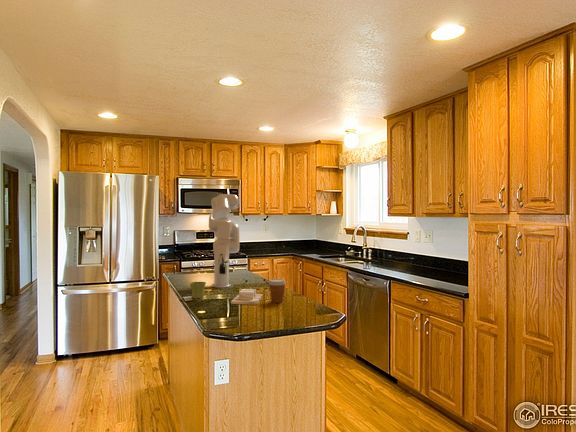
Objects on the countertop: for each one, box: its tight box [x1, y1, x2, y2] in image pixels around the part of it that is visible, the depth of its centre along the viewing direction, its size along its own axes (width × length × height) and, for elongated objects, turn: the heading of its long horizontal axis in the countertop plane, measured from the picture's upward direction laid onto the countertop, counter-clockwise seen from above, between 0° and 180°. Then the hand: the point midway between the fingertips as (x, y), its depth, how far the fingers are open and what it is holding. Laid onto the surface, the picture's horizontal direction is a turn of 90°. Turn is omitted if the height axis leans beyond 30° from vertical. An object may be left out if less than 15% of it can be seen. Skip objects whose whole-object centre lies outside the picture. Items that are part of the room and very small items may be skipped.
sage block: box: [218, 262, 230, 275], centre depth 236 cm, size 5×5×6 cm
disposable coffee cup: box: [268, 278, 287, 304], centre depth 227 cm, size 10×10×12 cm
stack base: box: [230, 288, 264, 306], centre depth 230 cm, size 20×14×6 cm
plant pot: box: [189, 281, 207, 299], centre depth 236 cm, size 9×9×9 cm
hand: (223, 272), depth 236 cm, fingers closed on sage block, 5 cm apart
